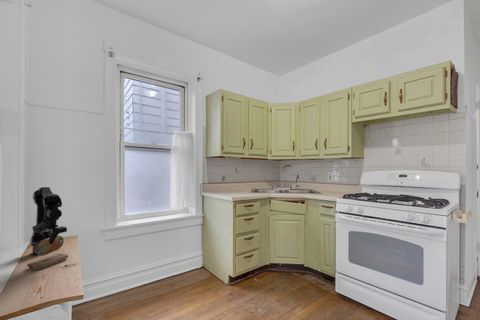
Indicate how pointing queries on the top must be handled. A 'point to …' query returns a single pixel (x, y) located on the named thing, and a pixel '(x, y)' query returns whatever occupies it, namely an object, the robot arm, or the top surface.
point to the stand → (47, 261)
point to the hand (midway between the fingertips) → (49, 244)
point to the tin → (48, 246)
